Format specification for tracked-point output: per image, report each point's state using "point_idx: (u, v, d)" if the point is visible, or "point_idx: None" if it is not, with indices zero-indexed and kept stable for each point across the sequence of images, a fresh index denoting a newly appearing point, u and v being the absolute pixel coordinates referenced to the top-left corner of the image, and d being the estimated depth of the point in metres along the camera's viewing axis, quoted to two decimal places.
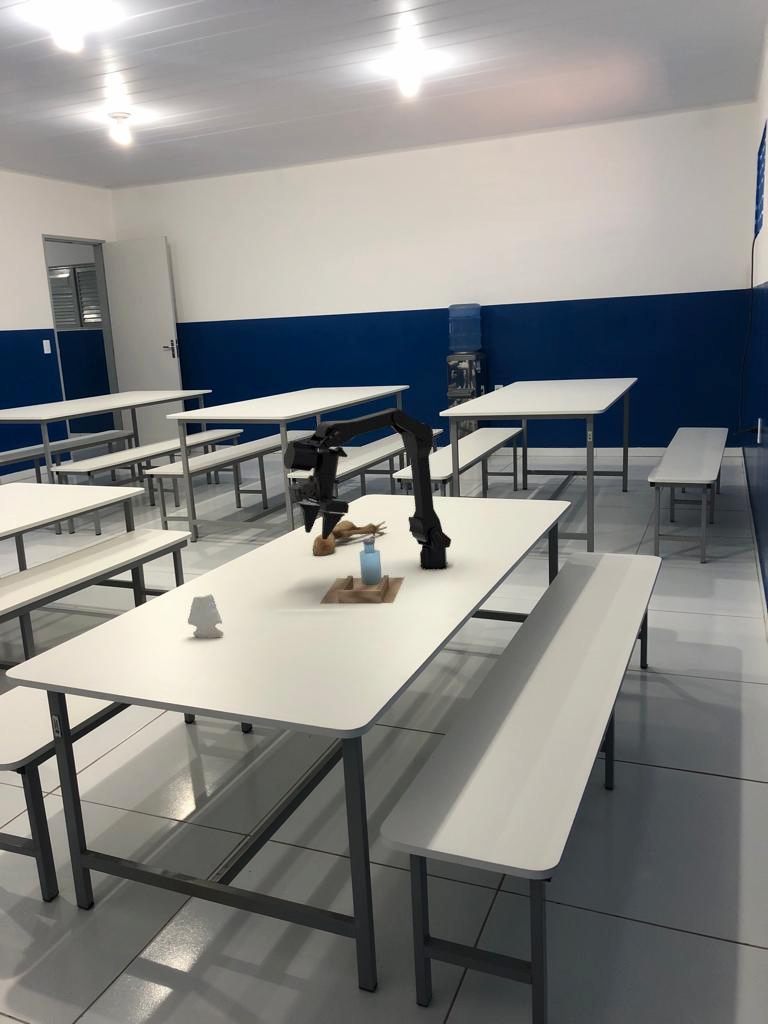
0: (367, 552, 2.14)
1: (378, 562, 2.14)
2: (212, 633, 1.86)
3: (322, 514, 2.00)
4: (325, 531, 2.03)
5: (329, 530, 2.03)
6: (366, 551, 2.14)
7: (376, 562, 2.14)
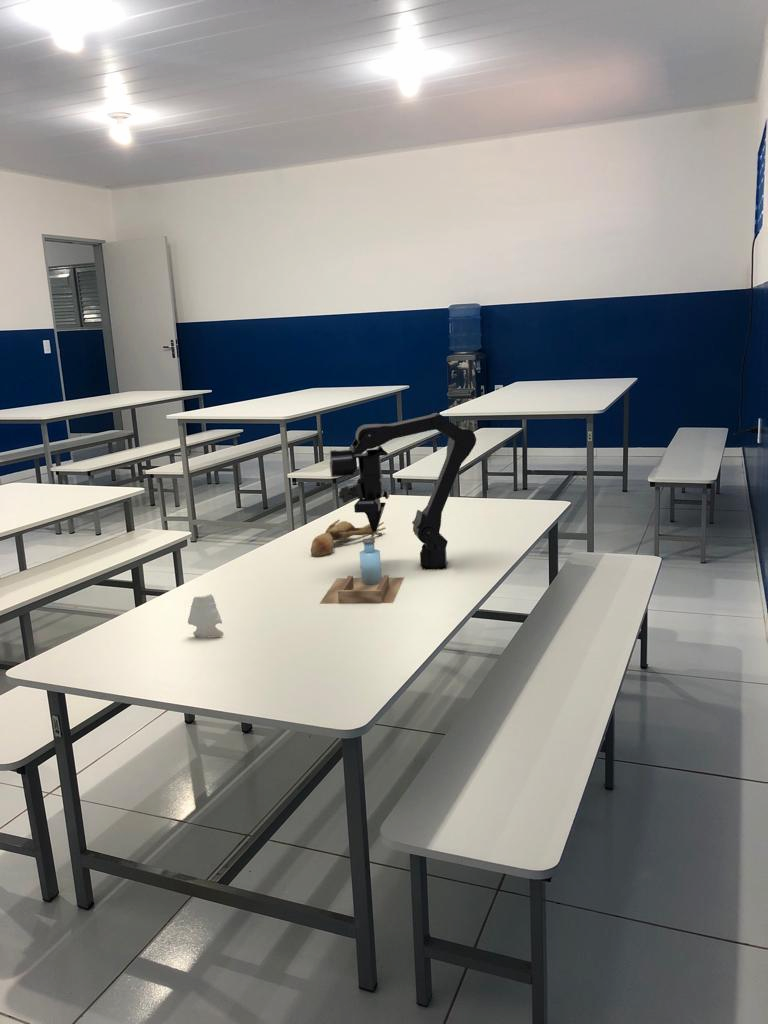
0: (367, 552, 2.14)
1: (378, 562, 2.14)
2: (212, 633, 1.86)
3: None
4: (372, 524, 2.22)
5: (375, 523, 2.21)
6: (366, 551, 2.14)
7: (376, 562, 2.14)
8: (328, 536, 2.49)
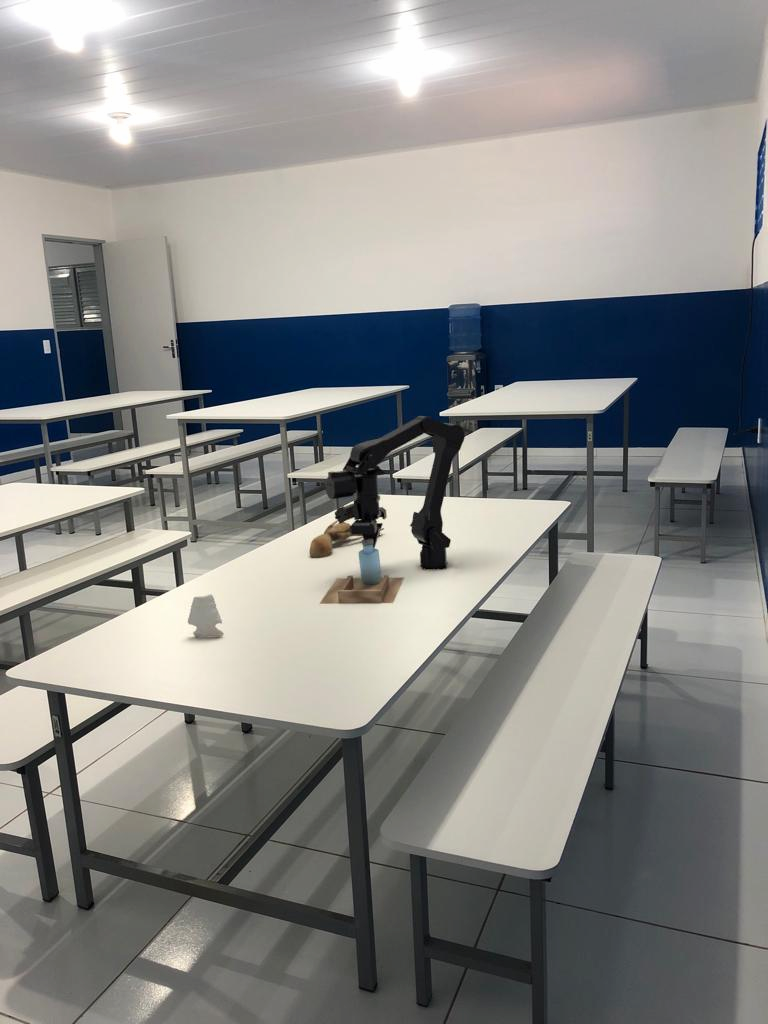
0: (366, 553, 2.13)
1: (377, 562, 2.14)
2: (212, 633, 1.86)
3: None
4: None
5: None
6: (365, 552, 2.13)
7: (375, 563, 2.13)
8: (327, 537, 2.48)
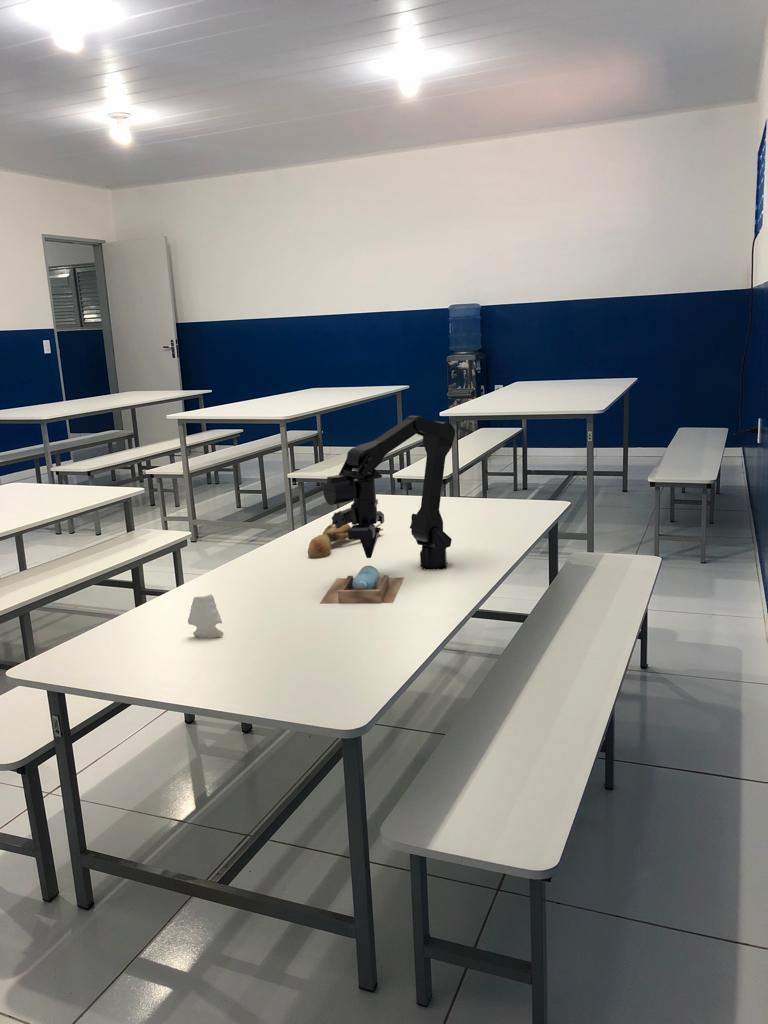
0: None
1: None
2: (212, 633, 1.86)
3: None
4: (366, 550, 2.13)
5: (369, 549, 2.13)
6: None
7: None
8: (325, 537, 2.47)
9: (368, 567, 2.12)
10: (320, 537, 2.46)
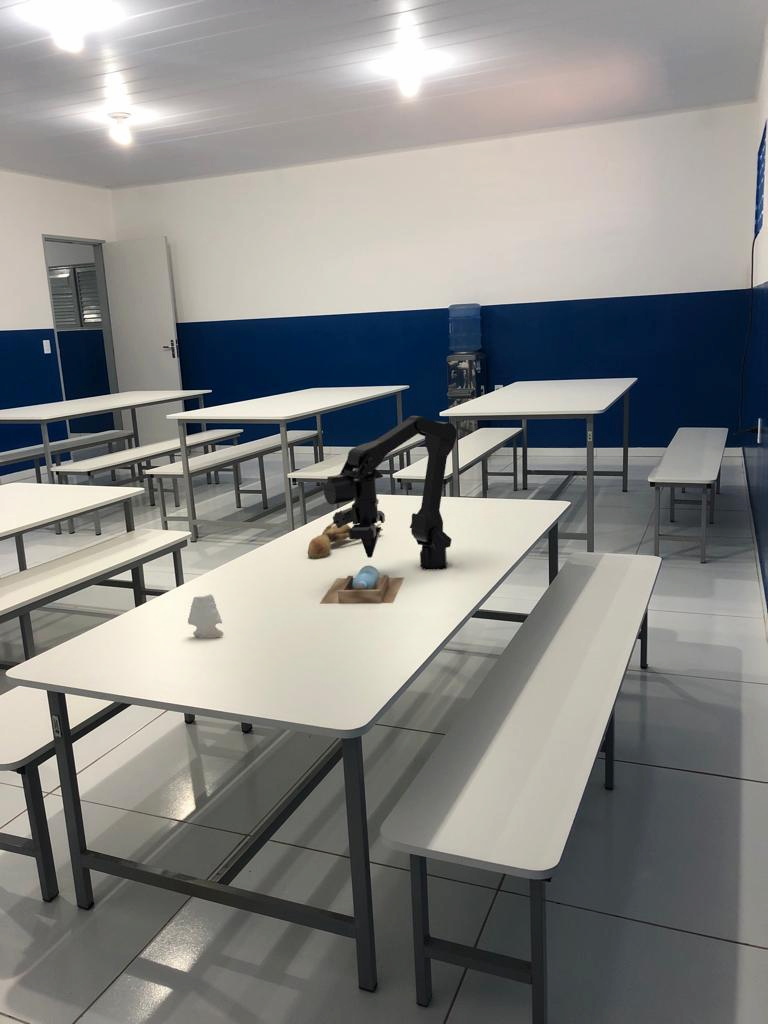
0: None
1: None
2: (212, 633, 1.86)
3: None
4: (367, 550, 2.14)
5: (370, 549, 2.13)
6: None
7: None
8: (325, 538, 2.47)
9: (368, 567, 2.12)
10: (320, 537, 2.46)
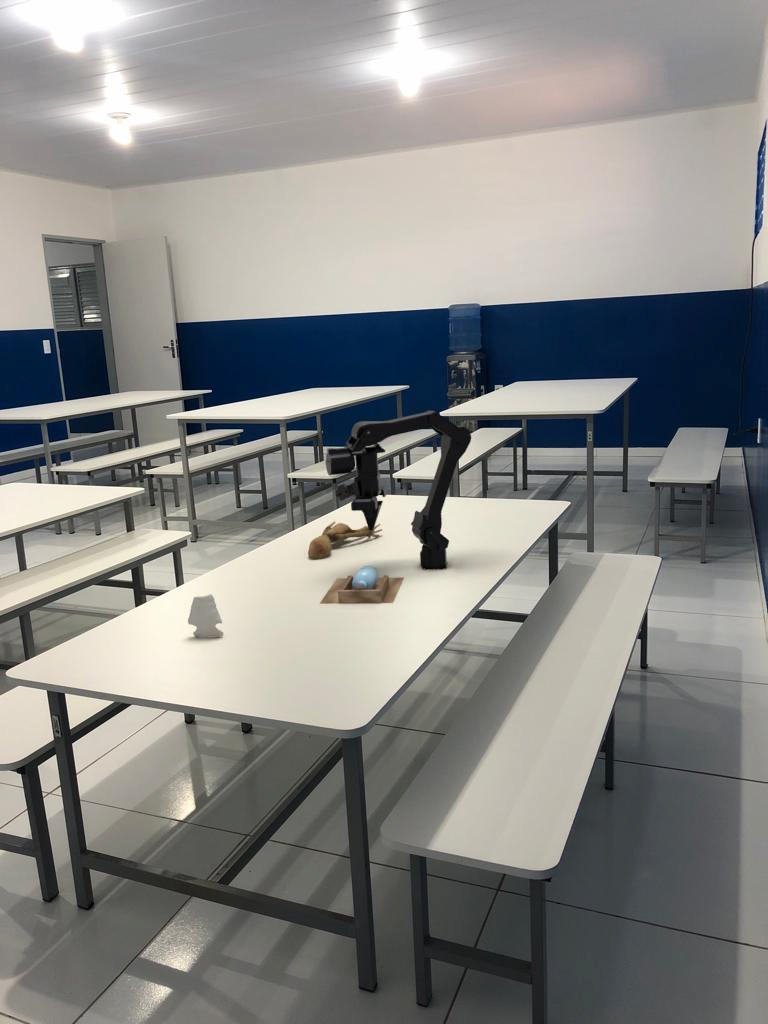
0: None
1: (374, 585, 2.09)
2: (212, 633, 1.86)
3: None
4: (369, 522, 2.19)
5: (372, 521, 2.18)
6: None
7: None
8: (325, 538, 2.46)
9: (367, 567, 2.12)
10: (320, 538, 2.45)
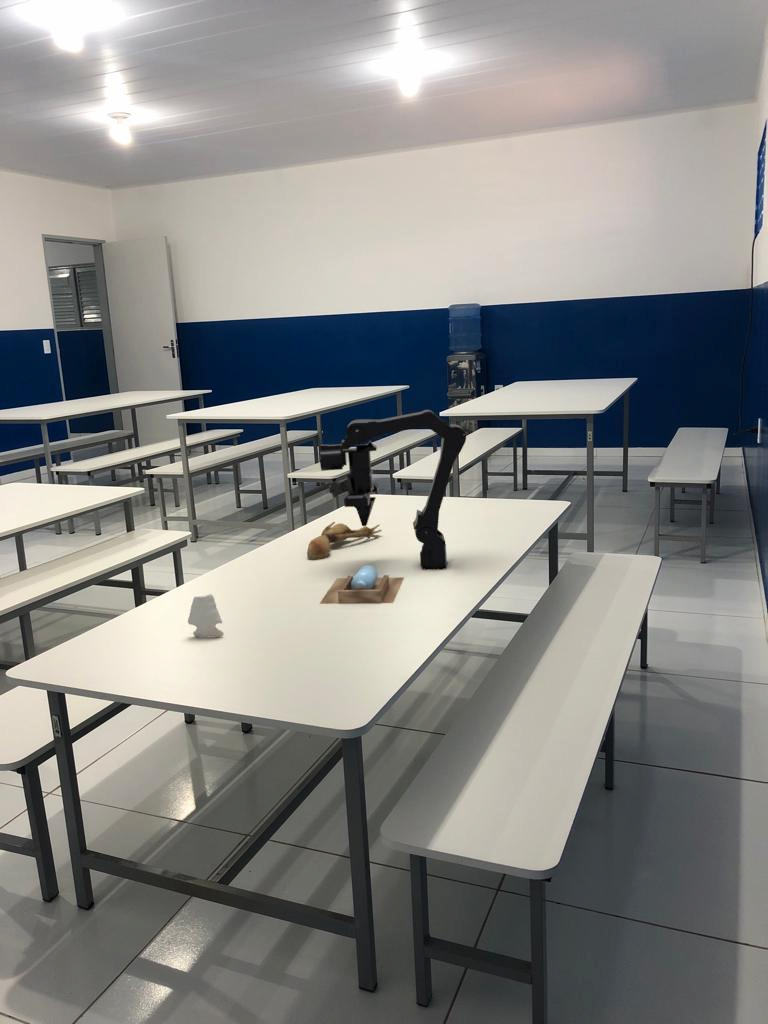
0: None
1: (373, 585, 2.09)
2: (212, 633, 1.86)
3: None
4: (362, 518, 2.24)
5: (365, 517, 2.23)
6: None
7: None
8: (325, 539, 2.46)
9: (365, 567, 2.12)
10: (319, 538, 2.45)
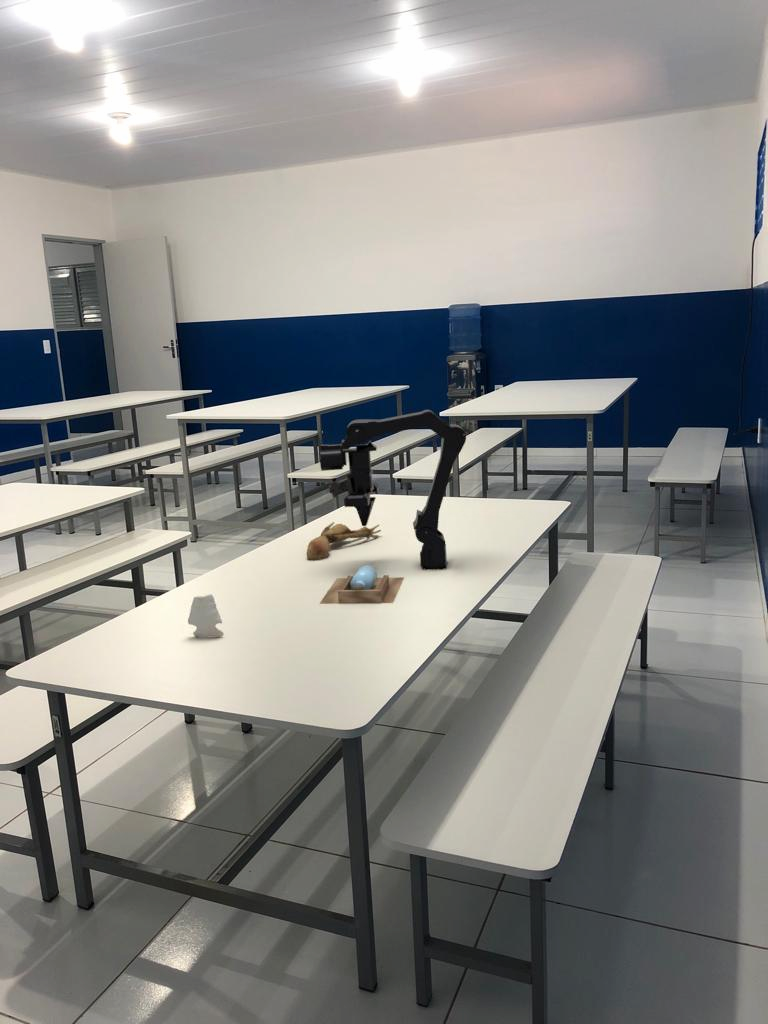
0: None
1: (372, 584, 2.09)
2: (212, 633, 1.86)
3: None
4: (362, 518, 2.24)
5: (365, 517, 2.23)
6: None
7: (371, 587, 2.09)
8: (324, 539, 2.46)
9: (363, 567, 2.12)
10: (319, 539, 2.45)
